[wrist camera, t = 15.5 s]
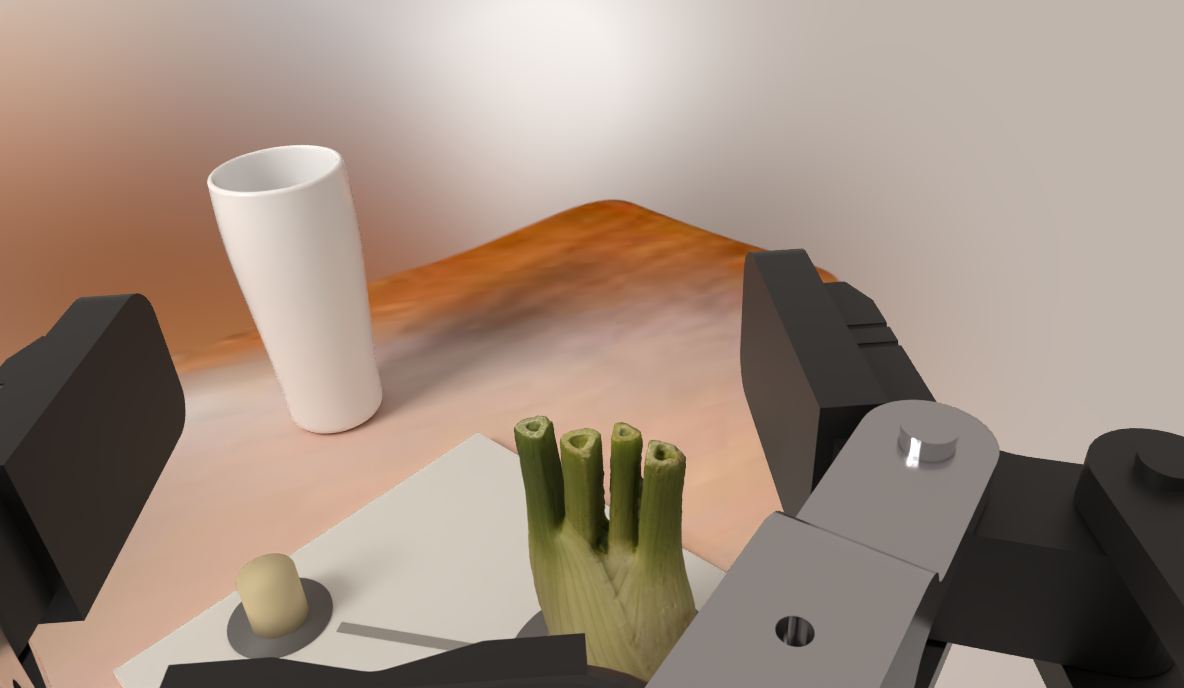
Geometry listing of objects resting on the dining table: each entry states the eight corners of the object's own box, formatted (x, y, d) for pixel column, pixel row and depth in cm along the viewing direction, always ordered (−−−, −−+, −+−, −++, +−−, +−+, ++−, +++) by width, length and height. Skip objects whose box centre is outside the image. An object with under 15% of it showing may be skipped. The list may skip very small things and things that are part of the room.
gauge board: (119, 683, 38) (90, 627, 36) (479, 443, 50) (471, 392, 48) (435, 1077, 26) (415, 1023, 24) (810, 634, 38) (815, 575, 36)
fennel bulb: (527, 663, 36) (490, 422, 30) (620, 598, 39) (604, 362, 32) (625, 763, 32) (606, 510, 26) (720, 683, 35) (725, 435, 28)
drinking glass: (334, 368, 57) (275, 137, 49) (420, 392, 54) (372, 152, 46) (253, 428, 52) (174, 183, 44) (343, 459, 49) (275, 202, 41)
